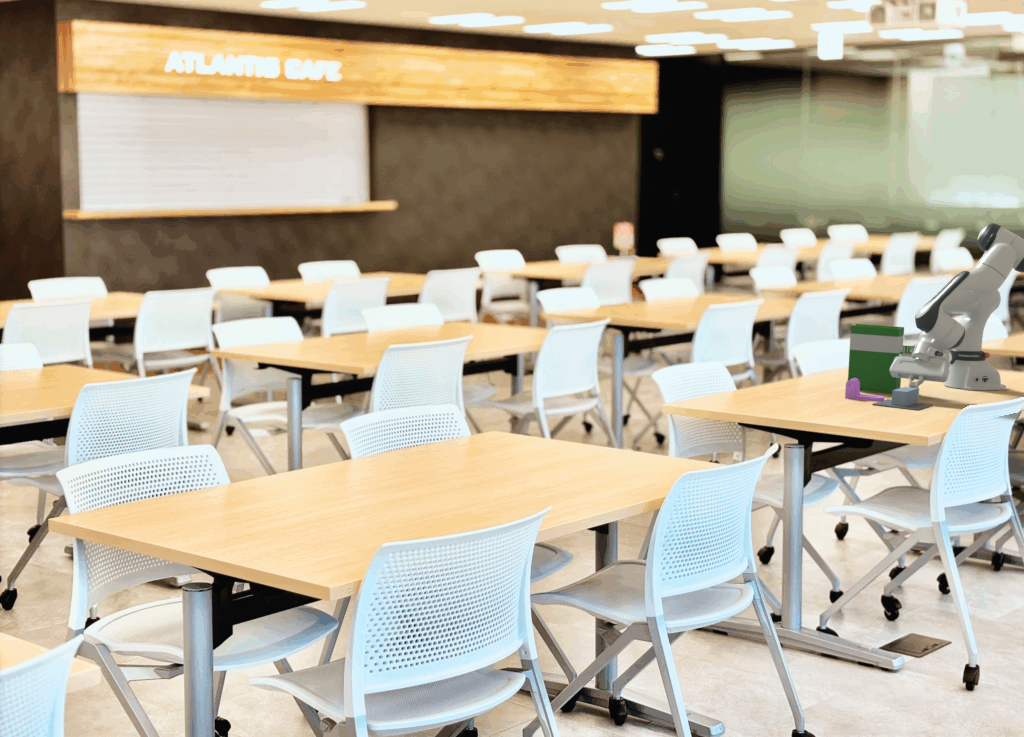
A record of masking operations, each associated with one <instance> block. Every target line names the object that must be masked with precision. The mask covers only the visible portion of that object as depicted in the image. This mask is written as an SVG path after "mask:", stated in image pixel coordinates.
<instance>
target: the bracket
mask: <svg viewBox="0 0 1024 737" xmlns="http://www.w3.org/2000/svg"><path fill="white" fill-rule="evenodd" d="M860 392H861V391H860V381H859V380H858V379H857V378H853V379H851V380H848V379H847V381H846V383H845V393H844V394H845V396H844V398H845V399H846V398H849V400H850V399H851V400H857V399H858V400H859V401H870V402H880V401H884V400H885V396H883V395H877V394H876V395H874V394H864V393H860ZM858 400H857V401H858Z"/></svg>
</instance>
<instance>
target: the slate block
mask: <svg viewBox="0 0 1024 737" xmlns="http://www.w3.org/2000/svg"><path fill="white" fill-rule="evenodd" d="M919 396H920V388H919V387H918V388H914V387H909V386H901V387H900V388H899V389H895V390H892V394H891V400H892V404H891V405H898V406H908V405H911V404H915V403H919V399H920V398H919Z"/></svg>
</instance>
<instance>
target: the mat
mask: <svg viewBox="0 0 1024 737" xmlns="http://www.w3.org/2000/svg"><path fill="white" fill-rule="evenodd" d="M891 404H892V399H889V398H887V399H884V401H876V402H873V403H872V404H871V405H872V406H877V407H879V406H880V407H884V408H885V407H886V408H887V407H888V408H893V409H900V410H901V409H903V410H911V411H920V410H923V409H927V408H930V407H932V406H933V405H934V404H933V403H932V404H931V403H922V402H918V403H915V404H911V405H908V406H898V405H891Z"/></svg>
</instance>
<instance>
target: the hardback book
mask: <svg viewBox="0 0 1024 737" xmlns="http://www.w3.org/2000/svg"><path fill="white" fill-rule="evenodd" d="M904 333H905V327H904V326H892V325H878V324H877V325H876V324H863V323H855V324H852V325H850V336H849V338H850V339H849V353H848V355H849V356H848V357H849V358H848V372H847V381H848V380H851V379H853V378H857V379H858V380H859V381H860V392H868V393H869V392H870V393H880V394H881V393H882V394H889V395H890V394H891V395H892V390H895V389H899V388H901V387H902V386H901V383H902V378H896V377H892V376H891V374H890V371H889V369H890V367H891V365H892V363H893V362H894V359H895V357H897V356H900V355H902V354H903V344H904V339H905V338H904V336H905V334H904Z"/></svg>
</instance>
